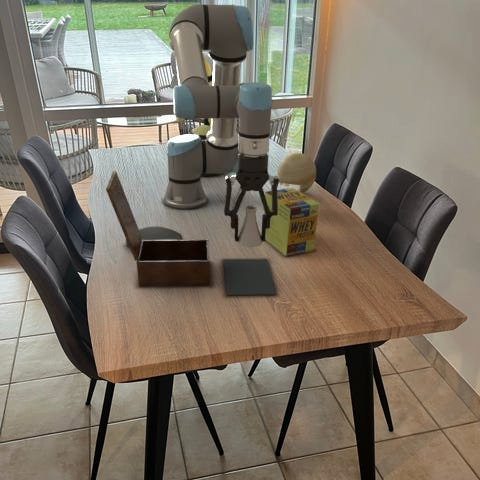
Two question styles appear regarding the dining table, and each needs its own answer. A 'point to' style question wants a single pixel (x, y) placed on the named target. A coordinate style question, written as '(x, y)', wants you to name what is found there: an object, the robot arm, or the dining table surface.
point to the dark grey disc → (158, 234)
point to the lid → (124, 214)
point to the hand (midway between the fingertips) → (249, 239)
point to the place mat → (248, 277)
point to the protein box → (292, 222)
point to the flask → (250, 229)
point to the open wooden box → (173, 263)
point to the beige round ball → (297, 171)
